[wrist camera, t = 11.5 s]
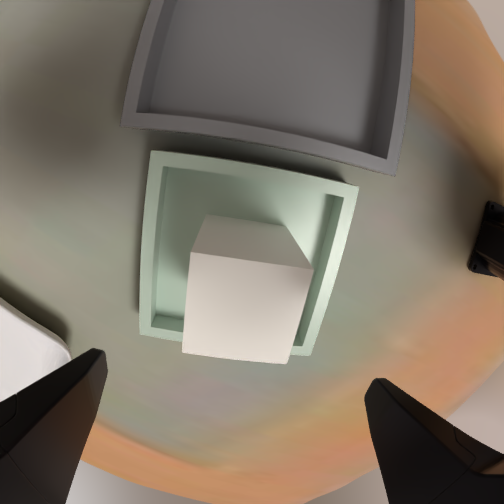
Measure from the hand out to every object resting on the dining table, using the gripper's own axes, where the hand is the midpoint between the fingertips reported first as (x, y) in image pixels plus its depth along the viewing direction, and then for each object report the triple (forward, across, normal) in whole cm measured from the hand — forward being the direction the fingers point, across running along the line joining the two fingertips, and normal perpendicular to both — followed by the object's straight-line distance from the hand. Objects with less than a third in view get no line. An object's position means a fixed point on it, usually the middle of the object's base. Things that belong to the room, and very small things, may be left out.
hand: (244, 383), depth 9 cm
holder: (+12, 0, 0) cm, 12 cm away
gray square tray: (+12, 0, -15) cm, 19 cm away
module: (+11, 0, 0) cm, 11 cm away
